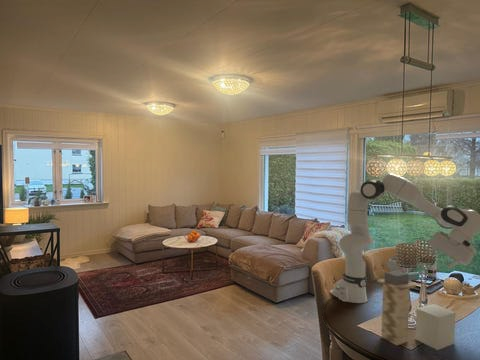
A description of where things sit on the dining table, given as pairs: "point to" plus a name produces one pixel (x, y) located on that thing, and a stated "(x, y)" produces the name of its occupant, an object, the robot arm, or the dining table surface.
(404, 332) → the beige pillar
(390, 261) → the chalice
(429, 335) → the grey pedestal
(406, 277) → the grey boxy piece
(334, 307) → the dining table surface
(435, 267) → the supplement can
